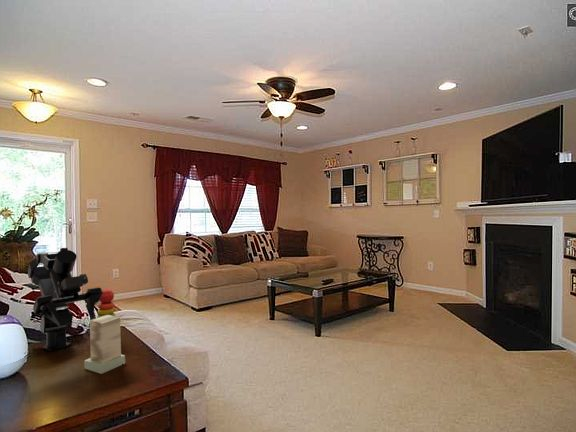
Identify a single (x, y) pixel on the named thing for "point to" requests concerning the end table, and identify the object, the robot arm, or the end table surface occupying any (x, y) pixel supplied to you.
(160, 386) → the end table surface
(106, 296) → the stacking toy
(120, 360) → the sage block
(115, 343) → the birch pillar
